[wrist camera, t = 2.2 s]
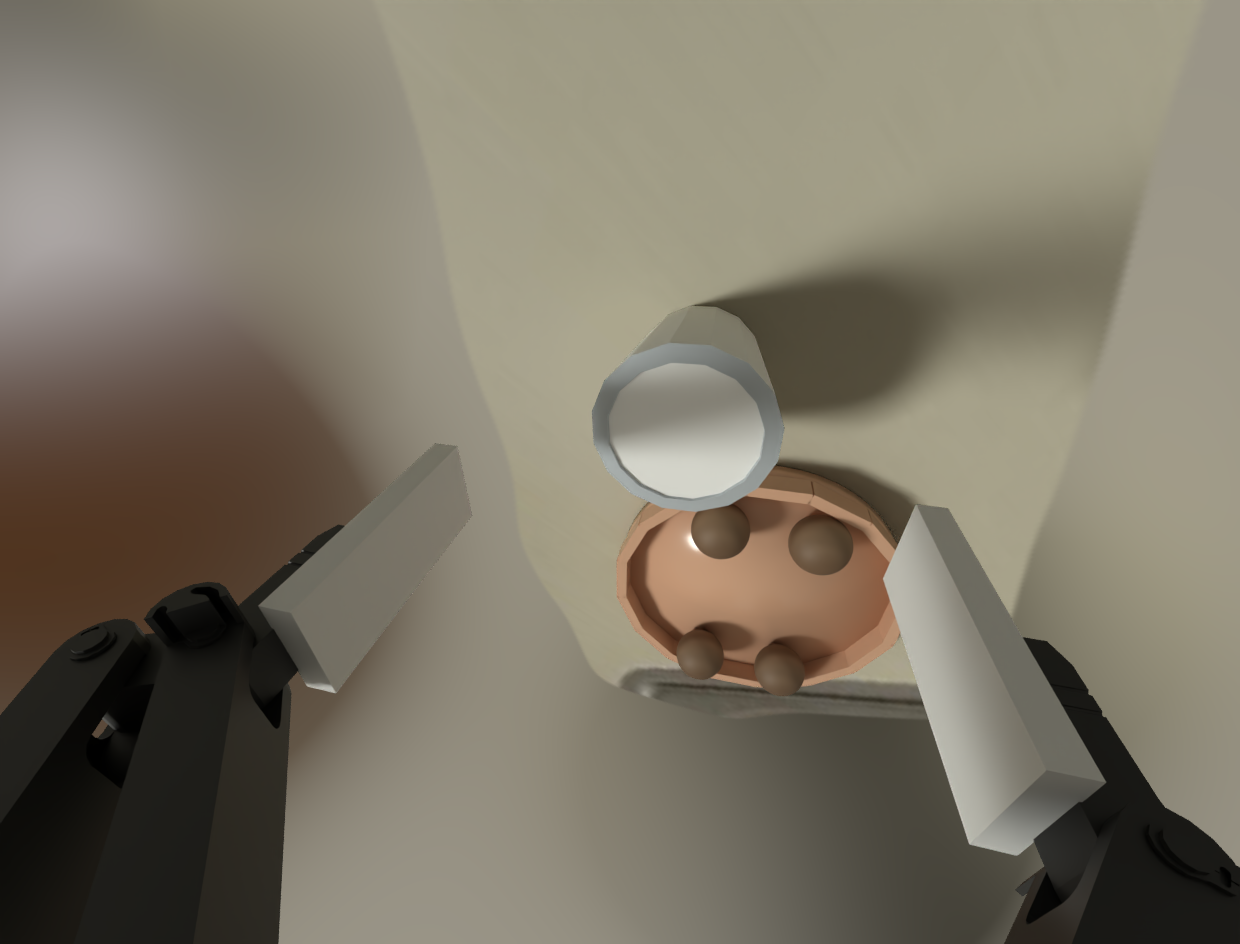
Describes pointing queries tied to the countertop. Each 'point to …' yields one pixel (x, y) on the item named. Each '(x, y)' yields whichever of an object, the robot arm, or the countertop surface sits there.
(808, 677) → the tray
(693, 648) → the bead
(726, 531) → the bead
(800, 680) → the bead
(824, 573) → the bead
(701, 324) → the white cup
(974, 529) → the countertop surface
